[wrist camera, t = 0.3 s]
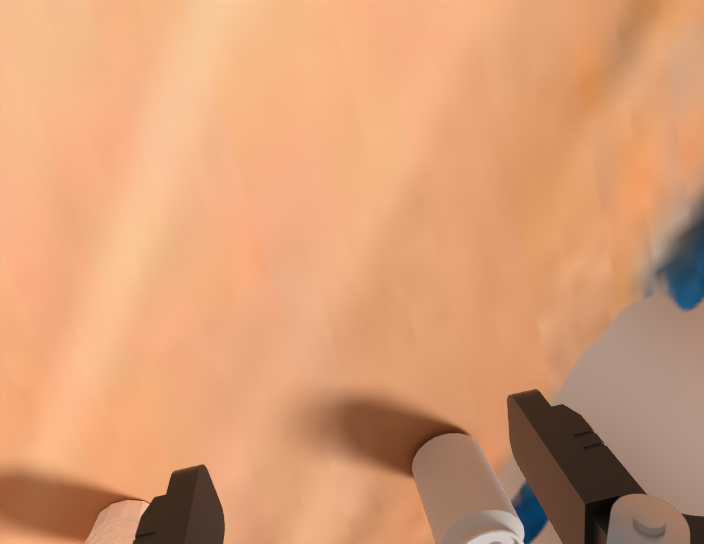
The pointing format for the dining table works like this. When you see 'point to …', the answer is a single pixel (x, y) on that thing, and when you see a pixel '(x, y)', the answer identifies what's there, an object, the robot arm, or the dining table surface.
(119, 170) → the dining table surface
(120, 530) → the white cup
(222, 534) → the robot arm
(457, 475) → the can
